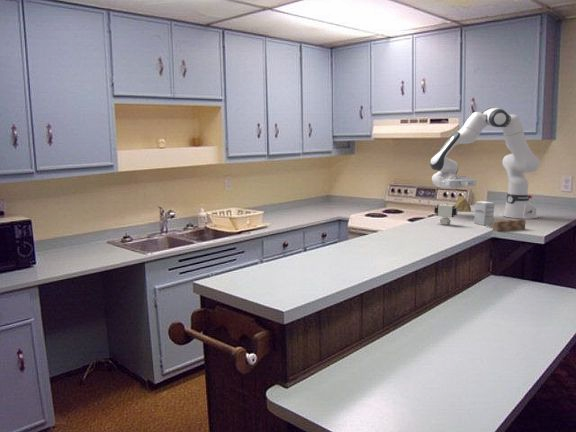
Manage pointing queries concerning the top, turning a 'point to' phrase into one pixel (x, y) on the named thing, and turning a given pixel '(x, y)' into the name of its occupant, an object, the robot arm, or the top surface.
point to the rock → (462, 204)
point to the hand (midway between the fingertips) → (469, 183)
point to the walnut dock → (507, 225)
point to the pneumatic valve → (445, 212)
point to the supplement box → (484, 213)
